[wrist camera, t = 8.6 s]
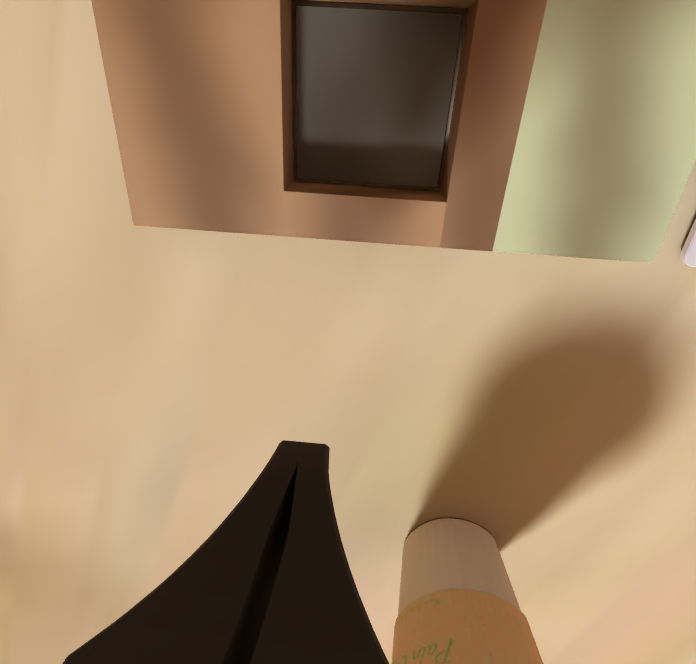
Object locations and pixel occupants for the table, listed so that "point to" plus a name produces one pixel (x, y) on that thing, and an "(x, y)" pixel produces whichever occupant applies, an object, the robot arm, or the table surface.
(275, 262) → the table surface
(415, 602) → the coffee cup
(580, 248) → the trap board
